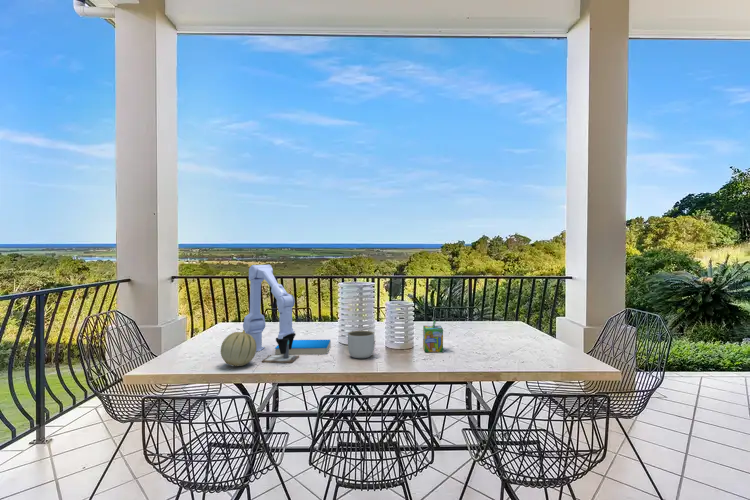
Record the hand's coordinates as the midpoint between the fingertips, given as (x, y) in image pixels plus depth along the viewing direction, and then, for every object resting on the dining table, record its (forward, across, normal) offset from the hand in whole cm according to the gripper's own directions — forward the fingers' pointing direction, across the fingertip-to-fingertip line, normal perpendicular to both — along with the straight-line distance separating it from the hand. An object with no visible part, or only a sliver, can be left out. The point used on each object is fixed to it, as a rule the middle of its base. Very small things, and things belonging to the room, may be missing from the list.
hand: (286, 351), depth 175 cm
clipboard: (+4, 0, +2) cm, 5 cm away
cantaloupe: (+4, -10, +18) cm, 21 cm away
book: (+4, +18, -3) cm, 18 cm away
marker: (+3, 0, 0) cm, 3 cm away
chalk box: (+4, +22, -68) cm, 71 cm away
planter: (+4, +8, -34) cm, 35 cm away
